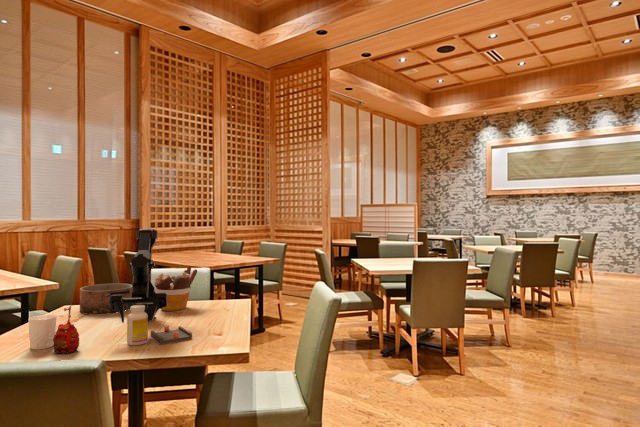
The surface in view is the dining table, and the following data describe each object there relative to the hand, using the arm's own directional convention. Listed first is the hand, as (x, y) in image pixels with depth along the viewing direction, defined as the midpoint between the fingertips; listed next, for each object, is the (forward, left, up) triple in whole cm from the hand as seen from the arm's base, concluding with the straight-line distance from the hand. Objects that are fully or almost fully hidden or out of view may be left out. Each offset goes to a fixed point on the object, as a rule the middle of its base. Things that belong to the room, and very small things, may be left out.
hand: (137, 321), depth 145 cm
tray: (+6, +10, -8) cm, 14 cm away
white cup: (-28, -13, -8) cm, 32 cm away
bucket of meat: (-24, +51, -8) cm, 57 cm away
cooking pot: (-53, +39, -8) cm, 67 cm away
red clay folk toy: (-16, -14, -8) cm, 23 cm away
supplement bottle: (-1, +1, -8) cm, 8 cm away
